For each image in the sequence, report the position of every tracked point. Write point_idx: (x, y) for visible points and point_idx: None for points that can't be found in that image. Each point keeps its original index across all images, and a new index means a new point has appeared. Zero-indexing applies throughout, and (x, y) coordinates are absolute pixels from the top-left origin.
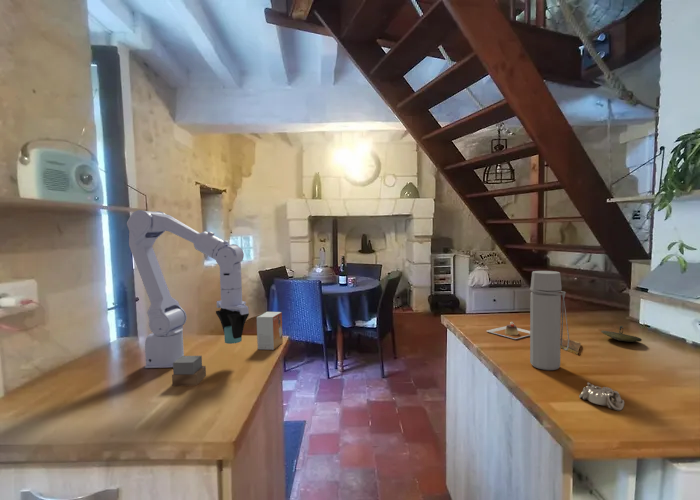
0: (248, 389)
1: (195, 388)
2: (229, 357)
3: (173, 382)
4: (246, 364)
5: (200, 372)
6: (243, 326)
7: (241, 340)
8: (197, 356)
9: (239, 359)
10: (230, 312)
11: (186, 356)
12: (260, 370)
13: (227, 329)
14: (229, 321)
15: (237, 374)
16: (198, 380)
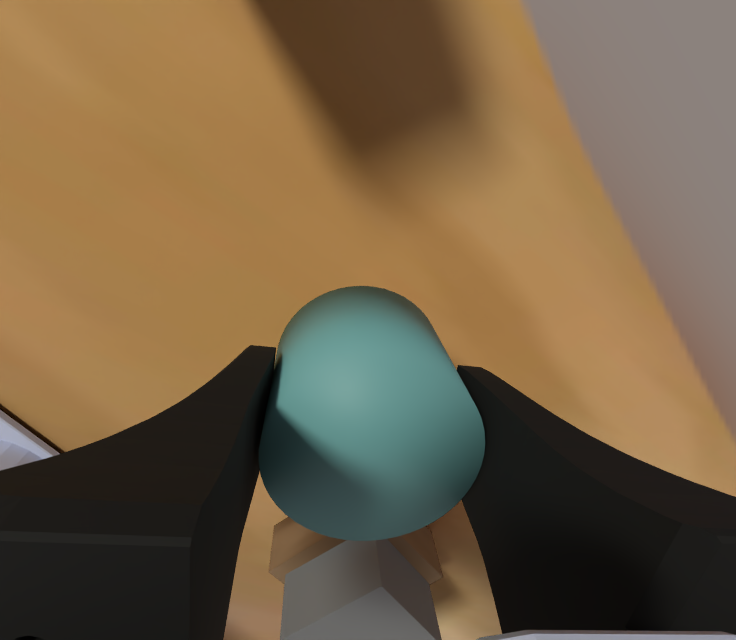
0: (678, 439)
1: (455, 547)
2: (186, 218)
3: None
4: (424, 242)
5: (413, 542)
6: (566, 428)
7: (425, 316)
8: (371, 602)
9: (293, 203)
10: (205, 604)
11: (311, 633)
12: (584, 261)
13: (402, 534)
14: (242, 478)
15: (502, 371)
16: (422, 532)
